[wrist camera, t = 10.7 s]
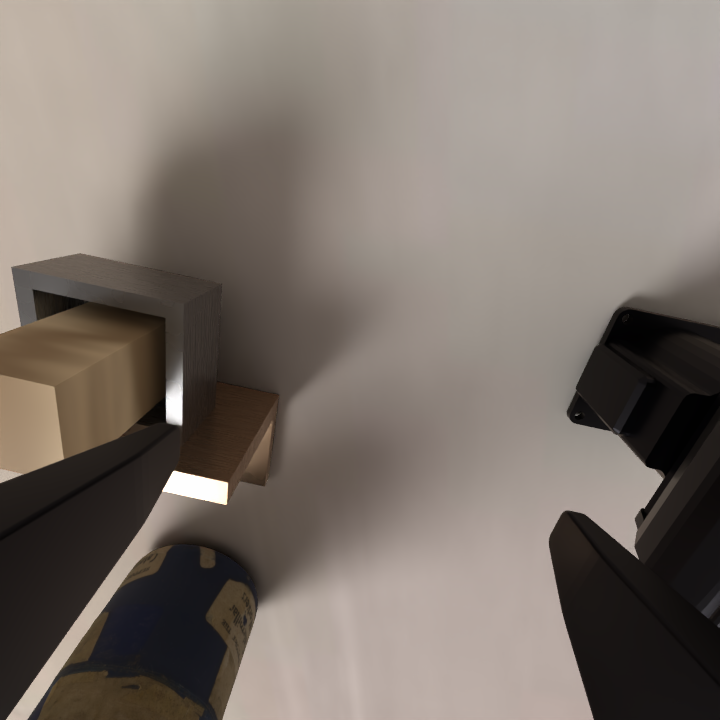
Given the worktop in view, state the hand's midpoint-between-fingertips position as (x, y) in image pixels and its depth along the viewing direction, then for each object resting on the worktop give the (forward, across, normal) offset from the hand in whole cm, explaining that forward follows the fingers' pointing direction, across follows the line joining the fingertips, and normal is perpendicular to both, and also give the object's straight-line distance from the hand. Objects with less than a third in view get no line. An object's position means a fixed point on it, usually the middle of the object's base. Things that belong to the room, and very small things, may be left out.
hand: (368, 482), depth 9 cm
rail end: (+9, +11, +2) cm, 14 cm away
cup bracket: (+13, +11, +6) cm, 18 cm away
